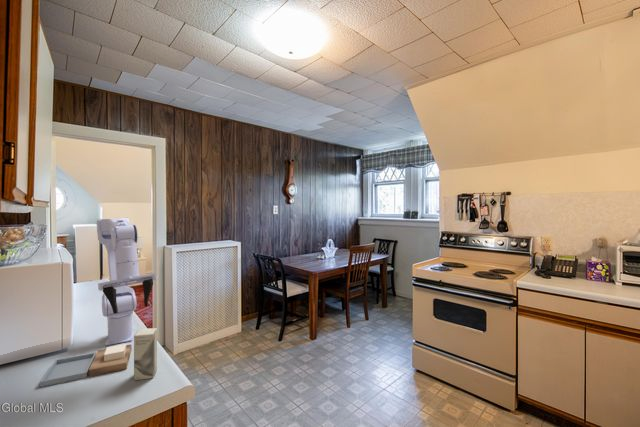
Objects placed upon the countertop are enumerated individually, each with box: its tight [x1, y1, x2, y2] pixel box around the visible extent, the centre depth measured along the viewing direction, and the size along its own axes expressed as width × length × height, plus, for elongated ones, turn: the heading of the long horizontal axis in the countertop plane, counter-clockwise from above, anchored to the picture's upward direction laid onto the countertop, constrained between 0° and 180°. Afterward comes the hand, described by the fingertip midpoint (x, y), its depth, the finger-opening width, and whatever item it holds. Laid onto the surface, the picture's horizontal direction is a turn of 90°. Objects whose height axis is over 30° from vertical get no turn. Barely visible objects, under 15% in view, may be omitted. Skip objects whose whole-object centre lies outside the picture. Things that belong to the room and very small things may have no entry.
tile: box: [104, 343, 127, 361], centre depth 92 cm, size 5×5×2 cm
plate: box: [88, 344, 132, 378], centre depth 92 cm, size 12×9×2 cm
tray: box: [39, 352, 97, 388], centre depth 87 cm, size 12×10×2 cm
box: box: [133, 327, 158, 381], centre depth 85 cm, size 5×4×13 cm
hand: (131, 309), depth 87 cm, fingers open, 7 cm apart
